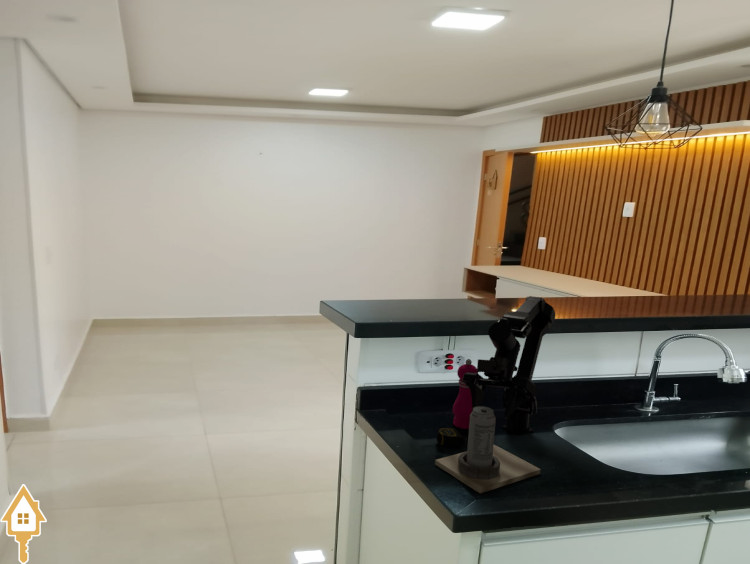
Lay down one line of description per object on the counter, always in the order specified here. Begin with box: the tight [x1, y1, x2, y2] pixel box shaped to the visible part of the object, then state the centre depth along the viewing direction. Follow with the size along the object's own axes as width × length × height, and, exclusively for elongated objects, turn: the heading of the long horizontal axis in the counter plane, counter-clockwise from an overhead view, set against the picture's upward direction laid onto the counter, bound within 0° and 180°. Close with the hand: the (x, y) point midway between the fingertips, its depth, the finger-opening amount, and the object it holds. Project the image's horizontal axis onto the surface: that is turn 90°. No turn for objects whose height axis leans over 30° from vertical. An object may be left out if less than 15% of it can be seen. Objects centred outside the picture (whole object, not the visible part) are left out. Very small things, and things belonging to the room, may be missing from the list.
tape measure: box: [436, 427, 466, 449], centre depth 153 cm, size 7×7×4 cm
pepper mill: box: [452, 358, 479, 430], centre depth 166 cm, size 7×7×20 cm
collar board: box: [434, 444, 541, 494], centre depth 139 cm, size 20×16×4 cm
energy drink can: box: [466, 405, 497, 467], centre depth 136 cm, size 6×6×15 cm
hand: (489, 415), depth 141 cm, fingers open, 9 cm apart
